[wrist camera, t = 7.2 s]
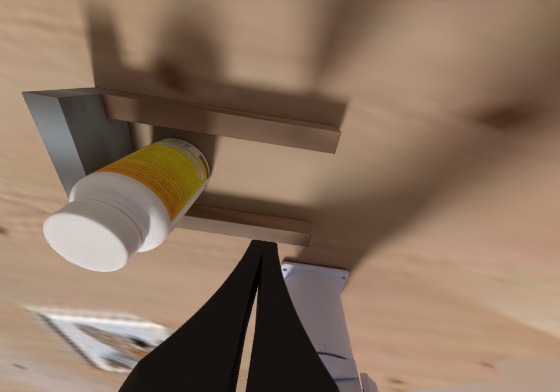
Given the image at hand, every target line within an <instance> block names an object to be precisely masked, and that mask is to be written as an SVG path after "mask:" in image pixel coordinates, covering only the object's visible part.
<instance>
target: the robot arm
mask: <svg viewBox="0 0 560 392" xmlns="http://www.w3.org/2000/svg"><path fill="white" fill-rule="evenodd" d="M284 268H286V269H284ZM348 276H349V272H348V271H347V270H342V269H335V268H328V267H321V266H314V265H307V264H300V263H293V262H283V263H282V265H281V266H280V261H279V256H278V248H277V243H275V242H268V241H261V240H254V239H253V240H252V241H251V243H250V245H249V247H248V249H247V251H246V252H245V254H244V256H243V257H242V259H241V260H240V262H239V263H238V265H237V266H236V268H235V269H234V270H233V272H232V273H231V274H230V276H229V277H228V278H227V279H226V281H225V282H224V283H223V284H222V286H221V287H220V288H219V289H218V290H217V291H216V293H215V294H214V295H213V296H212V297H211V298H210V299H209V300H208V301H207V302H206V303H205V304H204V305H203V306H202V307H201V308H200V309H199V310H198V311H197V312H196V313H195V314H194V315H193V316H192V317H191V318H190V319H189V320H188V321H187V322H186V323H184V324H183V325H182V326H181V327H180V328H179V329H178V330H177V331H176V332H174V333H173V334H172V335H171V336H170V337H169V338H167V339H166V340H165V341H164V342H163V343H161V344H160V345H159V346H158V347H156V348H155V349H154V350H153V351H151V352H150V353H149V354H148V355H146V356H145V357H144V358H142V359H141V360H140V361H139V362H138V363H137V365H136V366H135V367H134V369H133V370H132V372H131V373H130V374H129V376H128V377H127V379H126V380H125V382H124V383H123V385H122V386H121V388H120V390H119V391H118V392H236V386H237V381H238V375H239V369H240V364H241V358H242V352H243V346H244V341H245V335H246V331H247V327H248V323H249V319H250V315H251V311H252V307H253V303H254V299H255V296H256V292H257V288H258V295H257V309H256V323H255V333H254V340H253V346H252V353H251V360H250V366H249V373H248V379H247V386H246V392H362V391H361V386H360V382H359V377H358V372H357V368H356V363H355V360H354V358H353V353H352V349H351V344H350V339H349V335H348V330H347V325H346V321H345V316H344V311H343V307H342V302H341V297H340V293H341V291H342V289H343V287H344V285H345V283H346V281H347V279H348ZM360 376H361V381H362V386H363V392H378V389H377V386H376V383H375V382H374V381H373V380H372V379H371V378H369V376H368V374H367V373H360Z"/></svg>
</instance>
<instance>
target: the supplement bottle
mask: <svg viewBox="0 0 560 392" xmlns="http://www.w3.org/2000/svg"><path fill="white" fill-rule="evenodd" d="M209 177H210V170H209V166H208V163H207V161H206V159H205V157H204V155H203V154H202V153H201V152H200V151H199V150H198V149H197V148H196V147H195V146H193V145H192V144H190V143H189V142H187V141H184V140H181V139H177V138H165V139H161V140H158V141H156V142H154V143H152V144H150V145H148V146H146V147H144V148H142V149H140V150H138V151H136V152H134V153H132V154H130V155H128V156H125V157H123V158H121V159H120V160H118V161H115V162H113V163H112V164H110V165H107V166H105V167H103V168H101V169H99V170H97V171H95V172H93V173H91V174H89V175H87V176H85V177H84V178H82V179H80V180H79V181H78V182H77V183H76V184H75V185H74V186H73V188H72V190H71V192H70V197H69V203H68V204H67V205H65V206H64V207H63V208H62V209H60V210H58V211H57V212H55V213H53V214H51V215H50V216H49V217H48V218H47V219H46V220H45V222H44V225H43V231H44V235H45V238H46V239H47V241H48V243H49V244H50V245H51V247H52V248H53V249H54V250H55V251H56V252H57V253H59V254H60V255H61V256H62V257H64V258H65V259H67V260H69V261H70V262H72V263H74V264H76V265H78V266H81V267H84V268H86V269H90V270H94V271H102V272H108V271H114V270H118V269H120V268H121V267H123V266H124V265H125V264H126V263H127V262H128V261H129V260H130V259H131V257H132V256H133V255H135V254H136V253H137V252H143V251H148V250H151V249H153V248H155V247H157V246H159V245H160V244H161V243H162V242H163V241H164V240H165V239H166V238H167V237H168V235H169V234H170V233H171V232H172V230H173V229H174V228H175V226H176V225H177V224H178V223H179V221H180V220H181V219H182V217H183V216H184V215H185V214H186V212H187V211H188V210H189V208H190V207H191V206H192V205H193V203H194V202H195V201H196V199H197V198H198V197H199V195H200V194H201V193H202V191H203V190H204V189H205V187H206V186H207V184H208V181H209Z"/></svg>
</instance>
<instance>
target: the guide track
mask: <svg viewBox="0 0 560 392" xmlns="http://www.w3.org/2000/svg"><path fill="white" fill-rule="evenodd" d="M22 95H23V97H24V99H25V101H26V104H27V106H28V108H29V110H30V113H31V115H32V117H33V119H34V122H35V124H36V126H37V128H38V131H39V133H40V135H41V138H42V140H43V142H44V144H45V147H46V149H47V151H48V153H49V156H50V158H51V160H52V162H53V165H54V167H55V169H56V171H57V174H58V176H59V178H60V180H61V183H62V185H63V187H64V190H65V192H66V194H67V196H68V199H69V197H70V192H71V190H72V188H73V186H74V185H75V184H76V183H77V182H78V181H79V180H80V179H82V178H84V177H85V176H87V175H89V174H91V173H93V172H95V171H97V170H99V169H101V168H103V167H105V166H107V165H110V164H112V163H113V162H115V161H118V160H120V159H121V158H123V157H125V156H128V155H130V154H132V153H134V149H133V145H132V140H131V136H130V131H129V127H128V122H127V121H130V122H136V123H143V124H149V125H155V126H162V127H168V128H174V129H181V130H187V131H193V132H200V133H206V134H212V135H219V136H225V137H231V138H238V139H244V140H250V141H257V142H263V143H269V144H276V145H282V146H288V147H295V148H301V149H307V150H314V151H320V152H326V153H333V154H335V152H336V149H337V145H338V142H339V139H340V135H341V132H340V130H339V129H338V128H337V127H336V126H331V125H324V124H318V123H312V122H306V121H300V120H293V119H287V118H281V117H275V116H269V115H262V114H256V113H250V112H244V111H238V110H231V109H225V108H219V107H213V106H207V105H200V104H194V103H188V102H182V101H176V100H169V99H163V98H157V97H151V96H145V95H139V94H132V93H126V92H120V91H114V90H108V89H101V88H95V87H93V88H77V89H61V90H46V91H30V92H22ZM175 227H176V228H183V229H190V230H196V231H203V232H210V233H217V234H224V235H231V236H238V237H245V238H251V239H258V240H265V241H272V242H279V243H286V244H293V245H300V246H306V247H308V245H309V242H310V239H311V235H312V233H311V224H310V221H303V220H296V219H290V218H283V217H276V216H269V215H263V214H256V213H249V212H242V211H236V210H229V209H222V208H216V207H209V206H202V205H195V204H193V205H192V206H191V207H190V208H189V210H188V211H187V212H186V214H185V215H184V216H183V217H182V219H181V220H180V221H179V223H178V224H177V225H176V226H175Z"/></svg>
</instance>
